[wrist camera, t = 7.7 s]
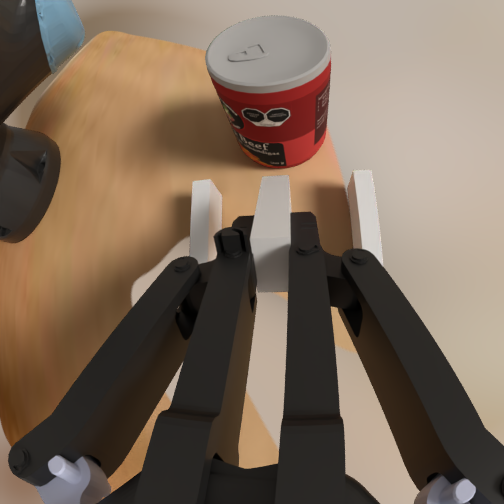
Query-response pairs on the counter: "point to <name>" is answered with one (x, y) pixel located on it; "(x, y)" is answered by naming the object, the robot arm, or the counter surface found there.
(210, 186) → the channel
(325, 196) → the counter surface
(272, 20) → the canned food
